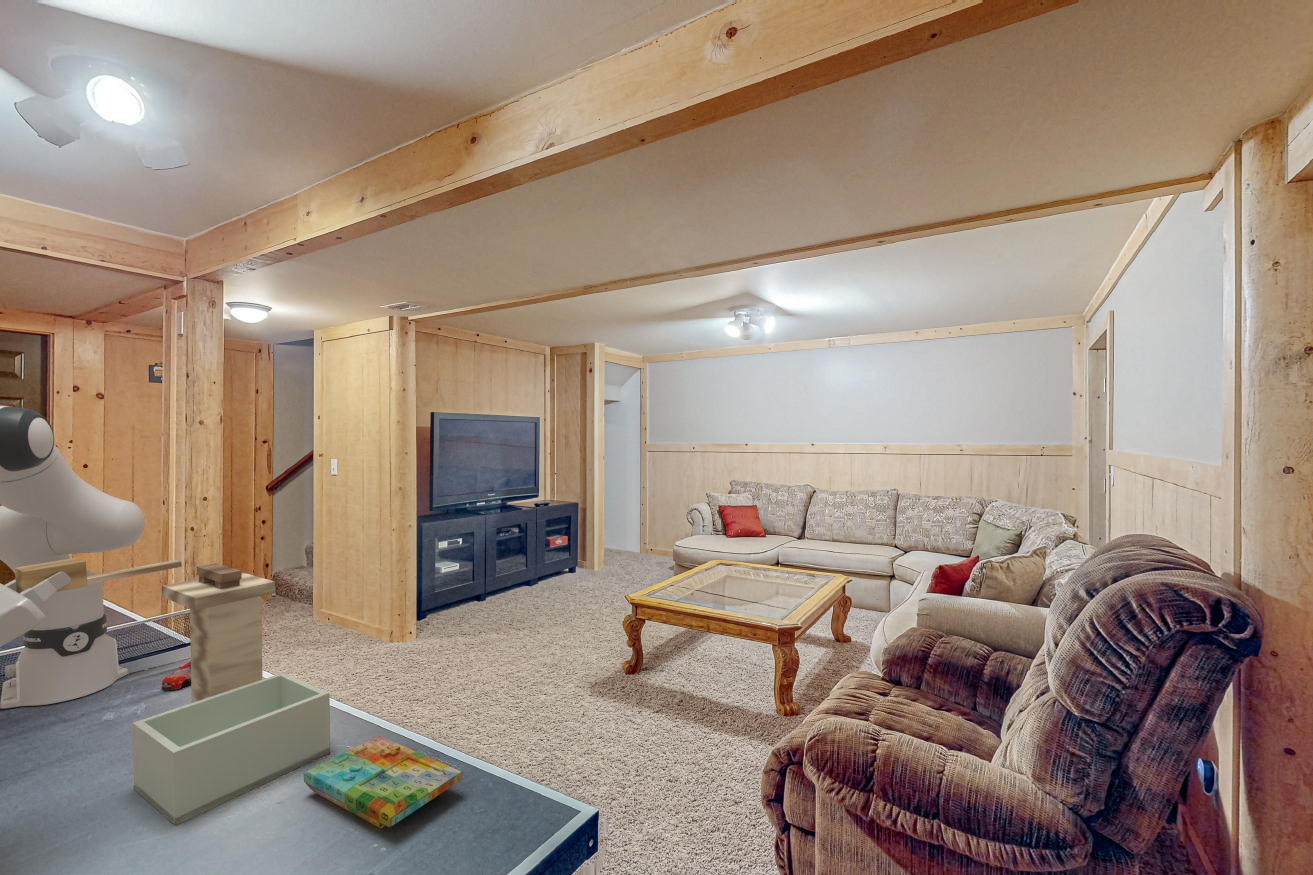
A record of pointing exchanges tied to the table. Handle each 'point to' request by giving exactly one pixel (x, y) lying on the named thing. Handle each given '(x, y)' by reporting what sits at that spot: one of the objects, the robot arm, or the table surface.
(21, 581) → the tan wooden bar
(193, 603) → the stand
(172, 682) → the race car
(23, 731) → the table surface
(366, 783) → the puzzle game
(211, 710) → the bin
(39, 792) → the table surface
